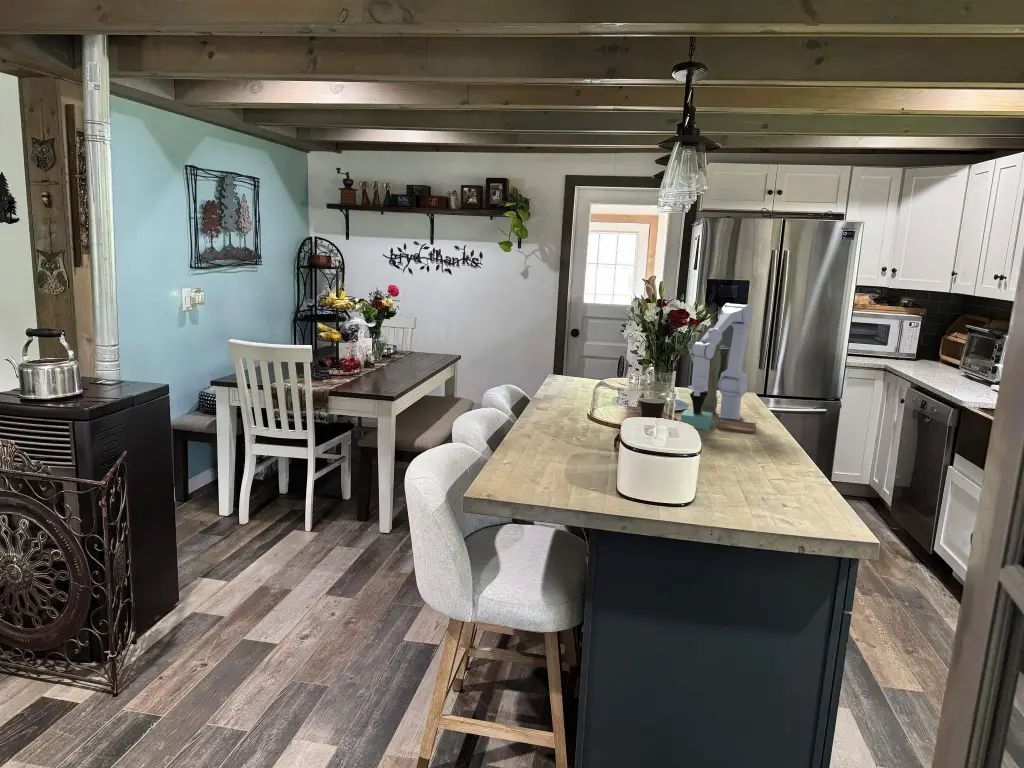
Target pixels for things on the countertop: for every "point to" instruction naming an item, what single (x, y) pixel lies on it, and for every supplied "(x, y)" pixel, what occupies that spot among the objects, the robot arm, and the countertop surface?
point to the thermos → (712, 378)
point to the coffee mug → (652, 407)
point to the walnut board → (737, 426)
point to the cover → (697, 419)
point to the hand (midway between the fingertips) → (697, 412)
